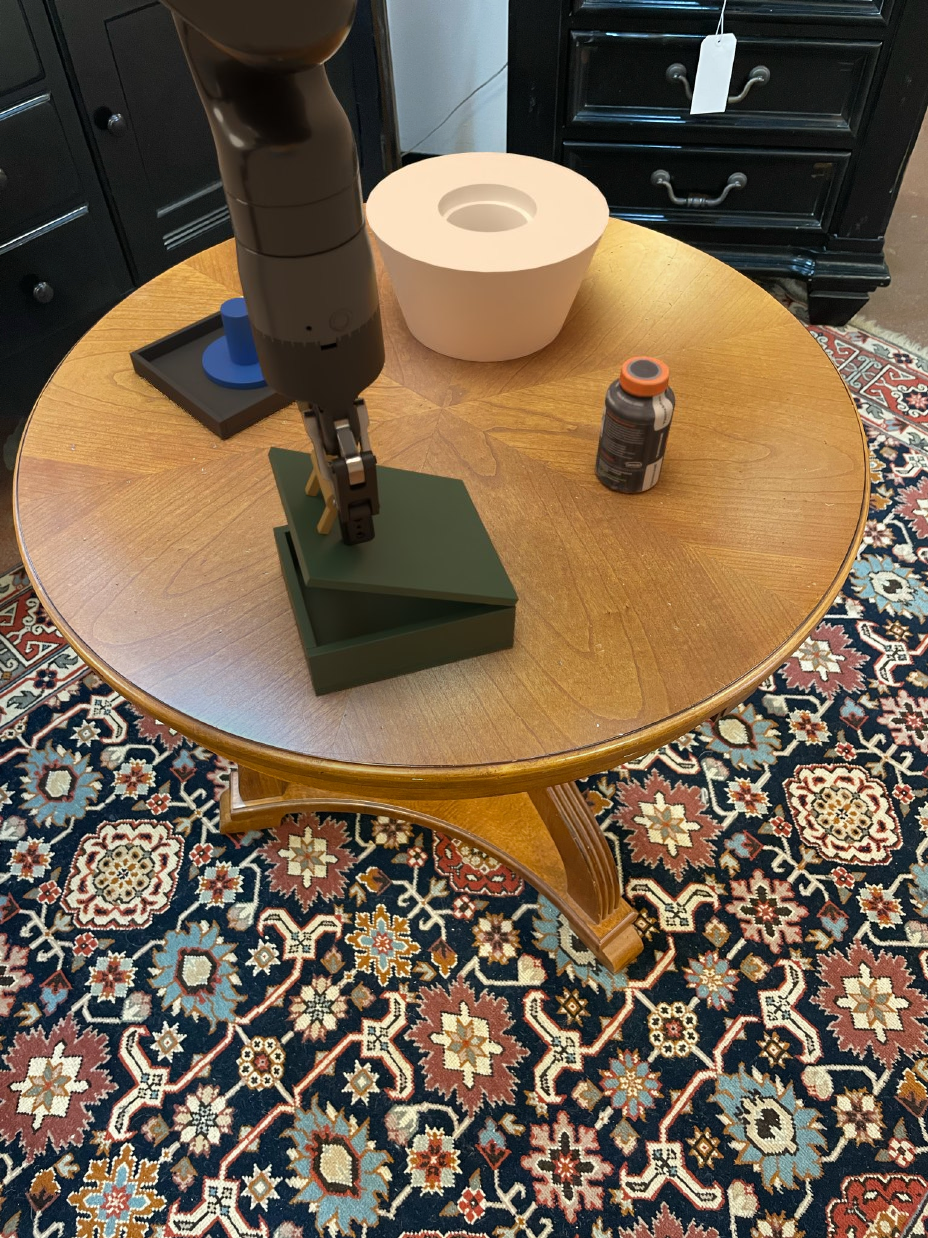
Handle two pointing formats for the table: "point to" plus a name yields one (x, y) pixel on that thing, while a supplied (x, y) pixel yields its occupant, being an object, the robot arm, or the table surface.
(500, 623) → the green chest
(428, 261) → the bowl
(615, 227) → the table surface
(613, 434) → the pill bottle
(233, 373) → the blue lid
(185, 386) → the tray
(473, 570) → the chest lid
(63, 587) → the table surface
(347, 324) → the robot arm
